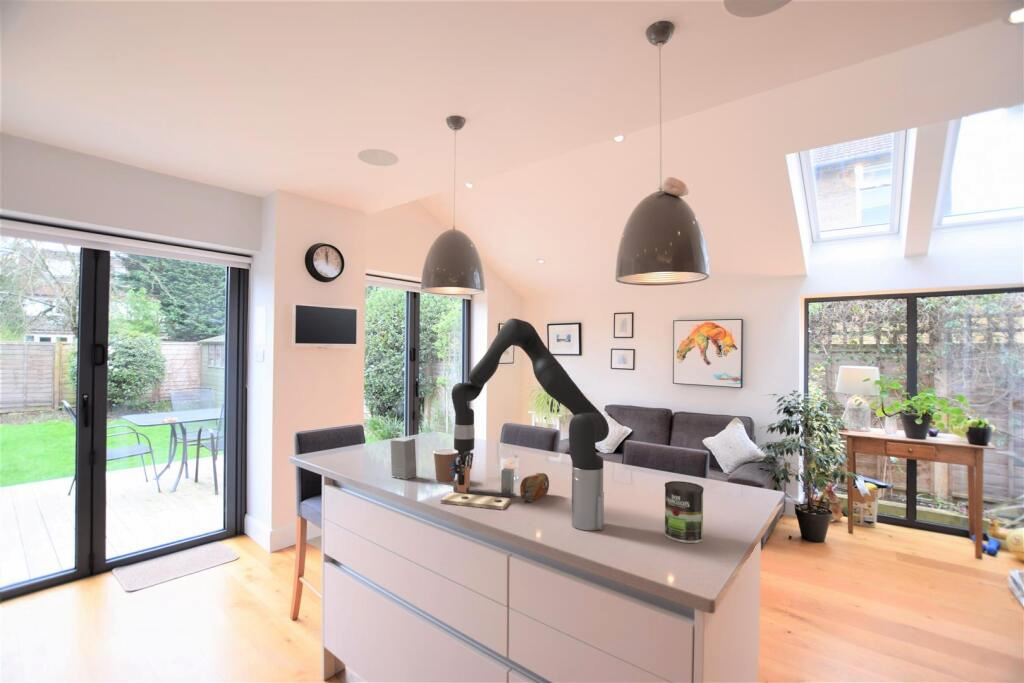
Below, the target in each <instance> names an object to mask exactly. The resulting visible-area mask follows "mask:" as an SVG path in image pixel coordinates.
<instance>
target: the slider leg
mask: <svg viewBox="0 0 1024 683" xmlns="http://www.w3.org/2000/svg"><path fill="white" fill-rule="evenodd" d="M462 466H464V465H462ZM462 469H463V468H462ZM464 475H465V477H464V485H458V474H456V484H457V492H456V493H462V494H467V489H471V486H470V484H471V483H470V482H471V469H470V466H469V465H467V467H466V468H465V474H464Z"/></svg>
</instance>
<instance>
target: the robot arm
mask: <svg viewBox="0 0 1024 683" xmlns="http://www.w3.org/2000/svg"><path fill="white" fill-rule="evenodd" d="M511 346H515V347H519V348H520V349H522V350H523V352H525V354H526V356H528V358H529V359H530V361H531V364H532V369H533V371H532V372H533V374H534V376H535V379H536V381H537V382H538V383H539V385H540V386H541V387H542V390H544V392H545V393H547V395H548V396H549V397H551V398H552V399H554V400H555V401H557V403H559V404H561V405H562V406H564V407H565V408H566V409H567V410H569V412H570V413H571V414H572V415H573V416H572V417H571V419H570V422H569V425H568V443H569V444H568V446H569V456H570V459H571V526H572V527H573V528H575V529H578V530H583V531H602V530H603V528H604V524H605V523H604V522H605V521H604V520H605V510H604V509H605V491H604V459H603V457H602V456H601V455H598V454H597V450H596V449H597V447H596V444H597V443H600V442H603V441H604V440H606V439H607V438H608V436H609V432H610V426H609V423H608V421H607V418H606V417H605V416H604V415H603V414H602V412H601V411H600V410H599V409H597V407H596V406H595V405H594V404H593V403H592V402H591V401H590V400H589V399H588V398H587V397H586V395H585V394H584V393H583V392H582V391H581V390H580V388H579V387H578V385H577V384H576V383H575V382H574V380H573V379H572V378H571V377H570V375H569V374H568V372H567V371H566V369H564V367H563V366H562V365H561V363H560V362H559V361H558V360H557V358H556V357H555V356H554V354H553V353H552V352H551V351H550V350H549V349H548V348H547V346H546V344H545V343H544V342H543V340H542V338H541V337H540V336H539V333H538V332H537V330H536V329H535V327H534V326H533V324H532V323H531V322H529V321H526V320H522V319H519V318H509V319H507V320H506V321H505V322H504V323H503V325H502V326H501V328H500V330H498V332H497V335H495V337H494V339H493V340H492V342H491V344H490V346H489V348H488V349H487V350H486V352H485V353H484V355H483V357H482V358H480V360H478V363H477V364H475V366H474V367H473V368H472V369H471V370H470V372H469V374H468V379H469V380H468V382H457V383H456V384H455V385H454V386H453V387H452V389H451V401H452V405H453V410H454V413H455V414H454V415H455V416H454V417H455V418H454V430H453V433H454V434H453V449H455V450H457V451H458V455H457V459H454V466H455V473H456V475H457V474H458V485H464V477H465V475H464V474H465V468H466V467H467V465H469V466H470V470H471V469H472V467H473V460H474V453H473V452H471V451H473V450H474V449H475V434H476V433H475V410H474V409H472V408H470V407H469V405H468V404H469V403H468V402H473V401H474V400H476V399H477V398H478V397H479V396H480V395H481V392H482V391H483V390H484V387H485V385H486V383H488V382H489V380H490V379H491V378H492V377H493V376H494V374H495V373H496V372H497V369H498V367H499V365H500V360H501V358H502V356H503V354H504V353H505V352H506V351H507V350H508V349H509V348H510V347H511ZM462 465H464V466H462ZM462 468H463V469H462Z"/></svg>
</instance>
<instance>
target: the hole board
mask: <svg viewBox="0 0 1024 683" xmlns="http://www.w3.org/2000/svg"><path fill="white" fill-rule="evenodd" d="M440 502H441V503H440V504H443V503H449V504H448V505H452V504H458V505H457V506H462V505H465V506H464V507H471V506H474V507H473V508H480V507H483V509H489V508H491V509H492V510H498V509H501V510H502V511H503V510H504V509H505V508H506V507H507V506H508V505H509V504H510V503H511V498H508V497H501V496H492V495H482V494H473V493H462V492H450V493H448V494H447V495H445V496H443V497H442V498H441V499H440ZM491 509H490V510H491Z"/></svg>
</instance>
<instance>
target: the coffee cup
mask: <svg viewBox="0 0 1024 683" xmlns="http://www.w3.org/2000/svg"><path fill="white" fill-rule="evenodd" d="M457 455H458V451H457V450H455V449H454V448H438V449H435V450H433V458H434V459H433V460H434V467H435V470H434V471H435V478H436V483H438V482H439V483H438V484H442V483H447V484H452V483H454V482H455V479H456V476H457V474H456V473H455V466H454V459H457ZM451 482H452V483H451Z"/></svg>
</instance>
